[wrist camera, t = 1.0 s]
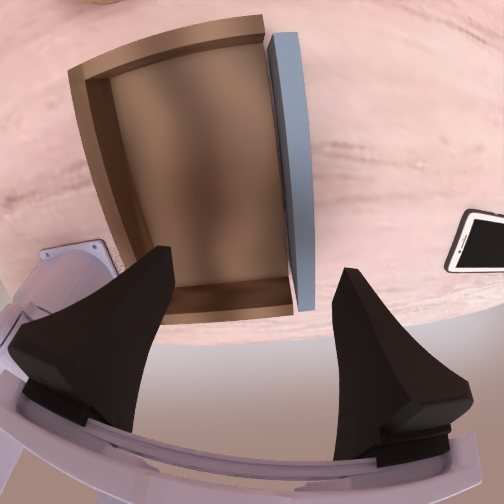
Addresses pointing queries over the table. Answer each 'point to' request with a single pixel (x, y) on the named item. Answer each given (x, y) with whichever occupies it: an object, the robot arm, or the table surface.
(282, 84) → the panel
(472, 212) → the cell phone
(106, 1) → the coffee cup
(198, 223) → the brown drawer
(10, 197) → the table surface
